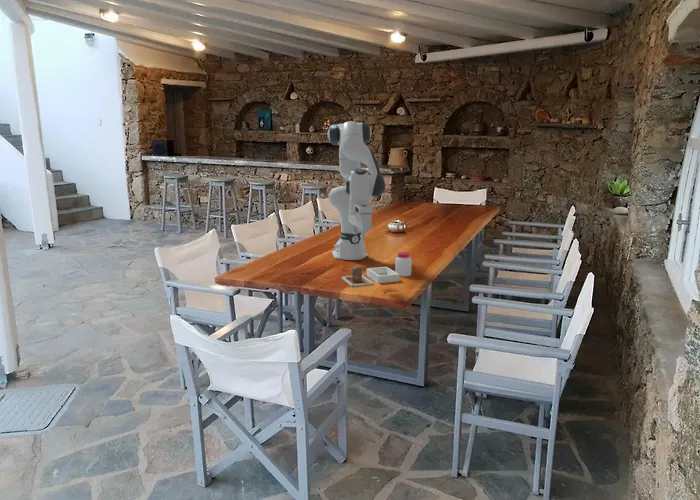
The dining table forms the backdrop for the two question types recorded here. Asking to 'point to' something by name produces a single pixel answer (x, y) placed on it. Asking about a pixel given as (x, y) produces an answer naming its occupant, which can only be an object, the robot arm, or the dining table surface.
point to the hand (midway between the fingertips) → (359, 236)
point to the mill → (357, 274)
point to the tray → (357, 284)
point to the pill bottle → (403, 264)
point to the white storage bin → (382, 274)
